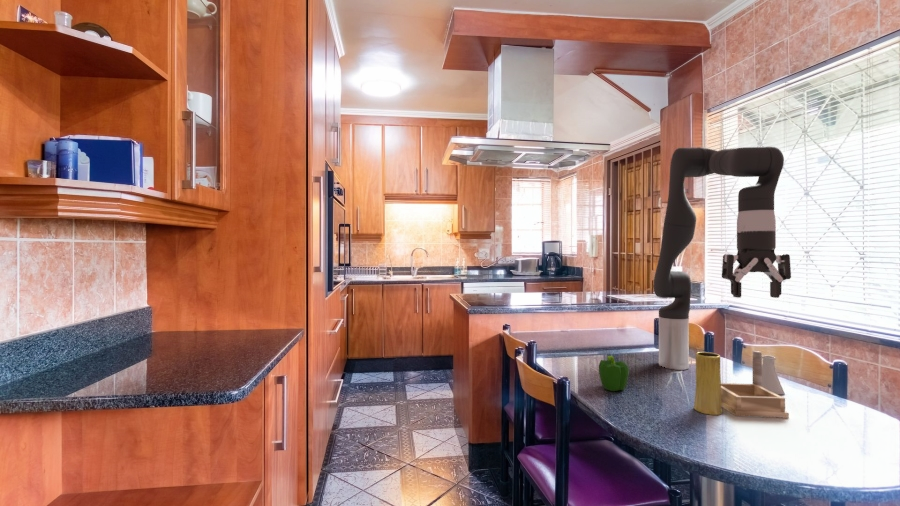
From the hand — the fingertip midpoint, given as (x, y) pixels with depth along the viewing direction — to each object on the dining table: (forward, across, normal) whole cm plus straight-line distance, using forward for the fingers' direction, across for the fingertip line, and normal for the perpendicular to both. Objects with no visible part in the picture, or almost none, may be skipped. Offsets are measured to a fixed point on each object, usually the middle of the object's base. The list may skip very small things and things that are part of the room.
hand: (755, 297), depth 100 cm
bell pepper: (+29, +28, -19) cm, 45 cm away
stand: (+29, -2, -7) cm, 30 cm away
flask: (+30, -16, -21) cm, 39 cm away
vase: (+29, +9, -4) cm, 31 cm away
